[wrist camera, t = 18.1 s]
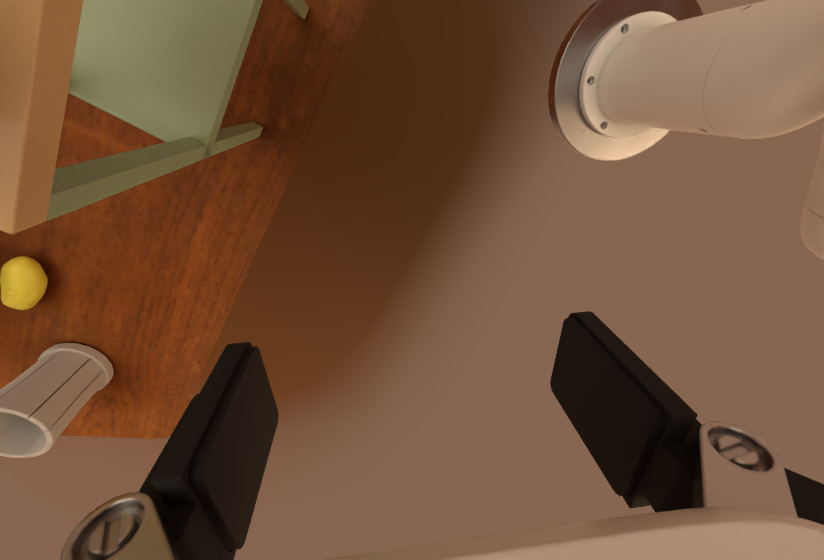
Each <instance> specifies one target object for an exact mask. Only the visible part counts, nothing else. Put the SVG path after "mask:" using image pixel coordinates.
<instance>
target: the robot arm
mask: <svg viewBox="0 0 824 560" xmlns="http://www.w3.org/2000/svg"><path fill="white" fill-rule="evenodd" d="M587 80H588V83H587ZM579 100H580V107H581V110H582V114H583V116H584V118H585V120H586V121H587V123H588V124H589V125H590V126H591V128H592V129H593V130H595V131H596V132H598V133H600V134H602V135H605V136H608V137H615V138H625V137H630V136H634V135H637V134H639V133H641V132H643V131H645V130H647V129H648V128H659V129H667V130H676V131H684V132H693V133H701V134H710V135H718V136H727V137H735V138H744V139H759V138H768V137H773V136H778V135H782V134H785V133H788V132H791V131H793V130H796V129H799V128H801V127H804V126H806V125H808V124H810V123H812V122H815V121H817V120H819V119H821V118H822V117H824V0H765V1H762V2H757V3H753V4H748V5H744V6H740V7H736V8H732V9H727V10H723V11H719V12H714V13H710V14H706V15H702V16H697V17H693V18H689V19H685V20H680V21H677V20H676V19H674V18H673V17H672V16H670V15H668V14H666V13H663V12H657V11H649V12H642V13H638V14H635V15H632V16H629V17H627V18H625V19H623V20H621V21H620V22H618V23H617V24H616V25H614V26H613V27H611V28H610V29H609V30H608V31H607V32H606V33H605V34H604V35H603V36H602V37H601V38H600V40H599V41H598V42H597V44H596V45H595V46H594V48H593V49H592V51H591V53H590V55H589V57H588V59H587V61H586V63H585V66H584V69H583V71H582V76H581V80H580V87H579ZM600 125H601V126H600ZM800 231H801V237H802V240H803V242H804V244H805V245H806V246H807V248H808V249H809V250H810V251H811V252H812V253H814V254H815V255H816V256H818V257H819V258H821V259H823V260H824V133H823V136H822V145H821V149H820V152H819V156H818V159H817V163H816V166H815V170H814V173H813V177H812V180H811V184H810V187H809V191H808V194H807V198H806V201H805V206H804V209H803V213H802V219H801V226H800ZM550 383H551V389H552V392H553V393H554V395H555V397H556V398H557V400H558V401H559V403H560V405H561V406H562V408H563V410H564V411H565V412H566V414H567V416H568V418H569V419H570V421H571V423H572V424H573V426H574V427H575V429H576V431H577V432H578V434H579V435H580V437H581V439H582V440H583V442H584V443H585V445H586V447H587V448H588V450H589V452H590V453H591V455H592V456H593V458H594V460H595V461H596V463H597V464H598V466H599V468H600V469H601V471H602V472H603V474H604V476H605V477H606V479H607V481H608V482H609V484H610V485H611V487H612V489H613V490H614V491H615V493H616V494H618V495H619V496H623V498H624V499H625V501H626V503H627V504H628V506H629V508H636V507H643V506H649V505H651V506H652V508H653V509H654V511H655V512H656V513H648V514H639V515H631V516H624V517H616V518H609V519H601V520H595V521H587V522H580V523H573V524H565V525H558V526H551V527H544V528H537V529H530V530H523V531H516V532H509V533H502V534H495V535H488V536H481V537H475V538H468V539H461V540H454V541H447V542H440V543H433V544H426V545H420V546H412V547H406V548H399V549H392V550H386V551H379V552H372V553H366V554H359V555H352V556H346V557H339V558H332V559H326V560H824V485H823V484H821V483H819V482H816V481H814V480H812V479H809V478H807V477H805V476H802V475H800V474H797V473H795V472H792V471H790V470H788V469H786V468H784V466H783V463H782V461H781V459H780V457H779V455H778V454H777V453H776V452H775V451H774V450H773V448H772V447H771V446H770V445H769V444H767V443H766V442H765V441H764V440H762V439H761V438H760V437H758V436H757V435H755V434H753V433H751V432H750V431H748V430H746V429H744V428H742V427H739V426H737V425H734V424H730V423H727V422H721V421H711V422H706V423H705V424H703V425H701V424H700V423H699V422H698V421H697V420H696V417H697V414H696V413H695V412H694V411H693V410H692V409H691V408H690V407H689V406H688V405H687V404H686V403H685V402H684V401H683V400H682V399H681V398H680V397H679V396H678V395H677V394H676V393H675V392H674V391H673V390H672V389H671V388H670V387H669V386H668V385H667V384H666V383H665V382H663V381H662V380H661V379H660V378H659V377H658V376H657V375H656V374H655V373H654V372H653V371H652V370H651V369H650V368H649V367H648V366H647V365H646V364H645V363H644V362H643V361H642V360H641V359H640V358H639V357H638V356H637V355H636V354H635V353H634V352H633V351H632V350H631V349H630V348H629V347H627V345H625V344H624V343H623V342H622V341H621V340H620V339H619V338H618V337H617V336H616V335H615V334H614V333H613V332H612V331H611V330H610V329H609V328H608V327H607V326H606V325H605V324H604V323H603V322H602V321H601V320H600V319H599V318H598V317H597V316H596V315H595V314H594V313H592V312H578V313H571V314H570V315H569V317H568V318H566V319H565V320H564V322H563V327H562V331H561V336H560V340H559V345H558V349H557V354H556V358H555V363H554V367H553V372H552V376H551V382H550ZM277 423H278V410H277V406H276V403H275V400H274V396H273V393H272V390H271V387H270V384H269V380H268V377H267V374H266V370H265V367H264V364H263V361H262V357H261V354H260V351H259V348H258V347H252V345H251V343H249V342H247V343H235V344H229V345H227V346H226V347H225V349H224V351H223V353H222V354H221V356H220V358H219V360H218V362H217V363H216V365H215V367H214V369H213V371H212V372H211V374H210V376H209V378H208V379H207V381H206V383H205V385H204V386H203V388H202V390H201V392H200V394H197V395H196V396H195V397H194V398H193V399H192V400H191V402H190V404H189V405H188V407H187V409H186V411H185V412H184V414H183V416H182V418H181V419H180V421H179V423H178V424H177V426H176V428H175V430H174V431H173V433H172V435H171V437H170V438H169V440H168V442H167V444H166V445H165V447H164V449H163V451H162V452H161V454H160V456H159V457H158V459H157V461H156V463H155V465H154V466H153V468H152V470H151V471H150V473H149V475H148V477H147V478H146V480H145V482H144V484H143V485H142V487H141V489H140V491H139V492H136V493H127V494H124V495H120V496H117V497H115V498H113V499H111V500H109V501H107V502H105V503H103V504H102V505H100V506H99V507H98V508H96V509H95V510H94V511H92V512H91V513H89V514H88V515H87V516H86V517H85V518H84V519H83V520H82V521H81V522H80V523H79V524H78V525H77V526H76V528H75V529H74V530H73V532H72V533H71V534H70V536H69V537H68V538H67V541H66V543H65V545H64V547H63V549H62V551H61V558H60V560H233V559H234V556H235V552H236V549H241V548H242V547H243V545H244V542H245V540H246V536H247V532H248V529H249V525H250V522H251V518H252V514H253V511H254V507H255V503H256V500H257V496H258V493H259V489H260V485H261V482H262V478H263V474H264V471H265V467H266V463H267V459H268V456H269V452H270V449H271V445H272V442H273V438H274V434H275V431H276V427H277Z"/></svg>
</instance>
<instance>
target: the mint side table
mask: <svg viewBox="0 0 824 560" xmlns="http://www.w3.org/2000/svg"><path fill="white" fill-rule="evenodd" d="M283 1H284V2H285V4H286V5H287V6H288V7H289V8H290V9H291V10H292V11H293V12H294V13H295V14H296V15H298V16H299V17H300V18H302V19H303V20H305V18H306V16H307V13H308V10H309V7H308V6H307V4H306V3H305V1H304V0H283ZM262 2H263V0H0V230H1V231H4V232H7V233H9V234H15V233H18V232H20V231H23V230H25V229H28V228H30V227H33V226H35V225H38V224H40V223H43V222H45V221H49V220H51V219H54V218H56V217H59V216H61V215H64V214H66V213H69V212H71V211H74V210H76V209H79V208H81V207H84V206H86V205H89V204H91V203H94V202H96V201H99V200H102V199H104V198H107V197H109V196H112V195H114V194H117V193H119V192H122V191H124V190H127V189H129V188H132V187H134V186H137V185H139V184H142V183H144V182H147V181H149V180H152V179H154V178H157V177H160V176H162V175H165V174H167V173H170V172H172V171H175V170H177V169H180V168H182V167H185V166H187V165H190V164H192V163H195V162H197V161H200V160H202V159H205V158H207V157H210V156H212V155H215V154H218V153H220V152H223V151H225V150H228V149H230V148H233V147H235V146H238V145H240V144H243V143H245V142H248V141H250V140H253V139H255V138H258V137H260V134H261V132H262V129H263V127H262V126H260V125H258V124H256V123H254V122H249V123H245V124H241V125H236V126H232V127H228V128H224V129H220V130H219V128H220V125H221V122H222V119H223V116H224V113H225V110H226V107H227V105H228V102H229V99H230V96H231V93H232V90H233V87H234V84H235V81H236V78H237V75H238V72H239V69H240V66H241V63H242V61H243V58H244V55H245V52H246V49H247V46H248V43H249V40H250V37H251V34H252V31H253V28H254V25H255V22H256V19H257V17H258V14H259V11H260V8H261V5H262ZM68 93H70V94H72V95H74V96H76V97H78V98H80V99H82V100H84V101H86V102H88V103H90V104H92V105H94V106H96V107H98V108H100V109H102V110H104V111H106V112H108V113H110V114H112V115H114V116H116V117H118V118H120V119H122V120H124V121H126V122H128V123H130V124H132V125H134V126H136V127H138V128H140V129H142V130H144V131H146V132H148V133H150V134H152V135H154V136H156V137H158V138H160V139H162V140H164V141H165V142H166V143H161V144H157V145H153V146H149V147H145V148H141V149H136V150H132V151H128V152H124V153H120V154H116V155H111V156H107V157H103V158H99V159H95V160H91V161H86V162H82V163H78V164H74V165H70V166H66V167H61V168H57V169H55V167H56V161H57V155H58V149H59V143H60V137H61V131H62V125H63V119H64V113H65V107H66V101H67V95H68Z"/></svg>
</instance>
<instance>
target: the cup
mask: <svg viewBox="0 0 824 560" xmlns="http://www.w3.org/2000/svg"><path fill="white" fill-rule="evenodd" d="M113 373H114V371H113V367H112V364H111V363H110V362H109V360H108V359H107V358H106V356H104V355H103V354H102V353H100V352H99V351H98V350H95V349H93V348H91V347H89V346H85V345H81V344H77V343H62V344H56V345H54V346H52V347H50V348H49V349H47V350H46V351H45V352H43V353H42V354H41V356H40V357H39V358H38V360H37V363H35V364H34V365H33V366H31V367H30V368H29V369H28V370H26V371H25V372H24V373H22V374H21V375H20V376H19V377H17V378H16V379H15V380H13V381H12V382H10V383H9V384H8V385H6V386H5V387H4V388H2V389H1V390H0V456H6V457H12V458H28V457H34V456H39V455H41V454H43V453H45V452H47V451H48V450H49V449H50V448H51V446H52V445H53V444H54V442H55V441H56V440H57V439H58V437H59V436H60V435H61V433H62V432H63V431H64V429H65V428H66V427H67V426H68V424H69V423H70V422H71V421H72V419H73V418H74V417H75V416H76V414H77V413H78V412H79V411H80V409H81V408H82V407H83V406H84V405H85V404H86V403H87V401H88V400H89V399H90V398H91V397H92V396H93V395H94V393H95V392H97V391H99V390H101V389H103V388H104V387H105V386H106V385H107V384H108V383H109V381H110V380H111V379H112V378H113Z"/></svg>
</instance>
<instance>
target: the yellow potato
mask: <svg viewBox="0 0 824 560" xmlns="http://www.w3.org/2000/svg"><path fill="white" fill-rule="evenodd" d="M0 284H1V301H2V303H3V304H4V305H6V306H8V307H10V308H13V309H18V310H26V309H29V308H32V307H33V306H35V305H36V304H37V303H38V301H39V300H40V299H41V298H42V297H43V295H44V293H45V291H46V288H47V284H48V278H47V275H46V274H45V272H44V270H43V268H42V267H41V265H40V264H39V263H38V262H37V261H36V260H34V259H33V258H30V257H27V256H20V257H16V258H13V259H11V260H9V261H8V262H6V263H5V264H4V265H3V267H2V269H1V276H0Z"/></svg>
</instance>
